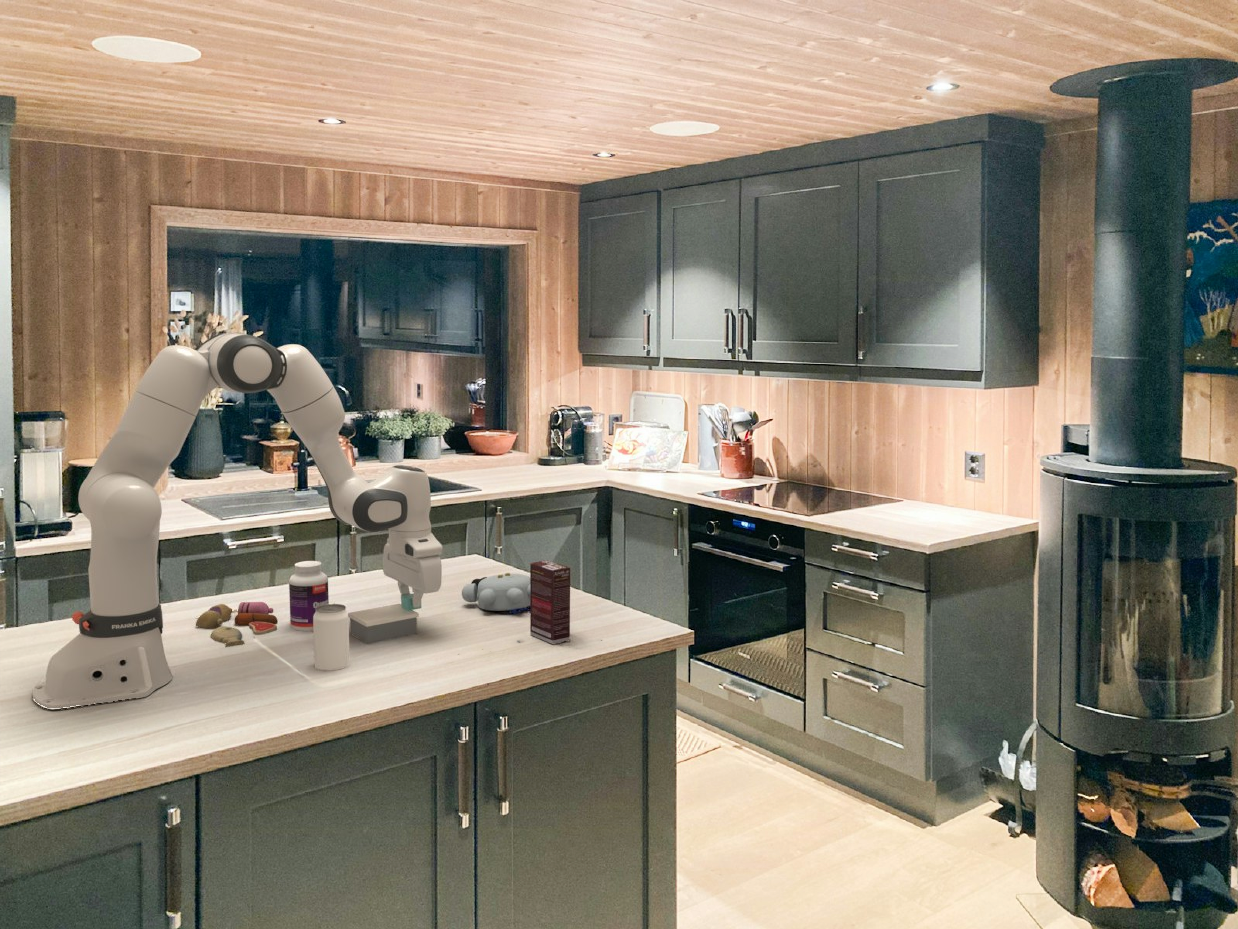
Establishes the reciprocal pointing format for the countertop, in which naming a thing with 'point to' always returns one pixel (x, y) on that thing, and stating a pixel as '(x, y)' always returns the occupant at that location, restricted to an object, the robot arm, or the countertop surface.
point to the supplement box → (550, 601)
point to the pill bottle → (307, 594)
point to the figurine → (500, 592)
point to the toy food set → (238, 621)
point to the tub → (383, 630)
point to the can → (331, 637)
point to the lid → (386, 613)
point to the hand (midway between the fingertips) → (411, 604)
